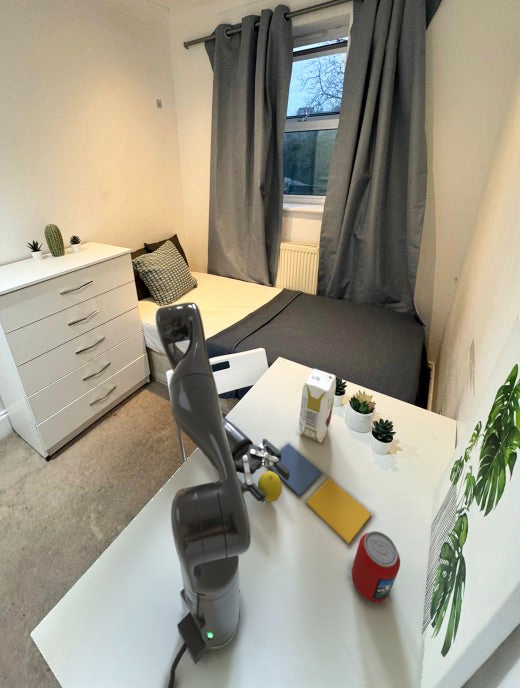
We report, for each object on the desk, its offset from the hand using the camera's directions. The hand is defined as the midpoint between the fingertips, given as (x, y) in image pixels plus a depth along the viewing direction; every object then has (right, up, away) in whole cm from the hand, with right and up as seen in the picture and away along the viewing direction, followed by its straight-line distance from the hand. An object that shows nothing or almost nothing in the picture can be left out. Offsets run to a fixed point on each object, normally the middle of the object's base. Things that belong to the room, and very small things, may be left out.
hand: (276, 487), depth 74 cm
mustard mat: (+14, -6, +1) cm, 15 cm away
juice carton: (+14, +4, +21) cm, 26 cm away
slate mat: (+6, -1, +10) cm, 12 cm away
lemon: (-1, -5, +4) cm, 7 cm away
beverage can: (+16, -12, -11) cm, 23 cm away
